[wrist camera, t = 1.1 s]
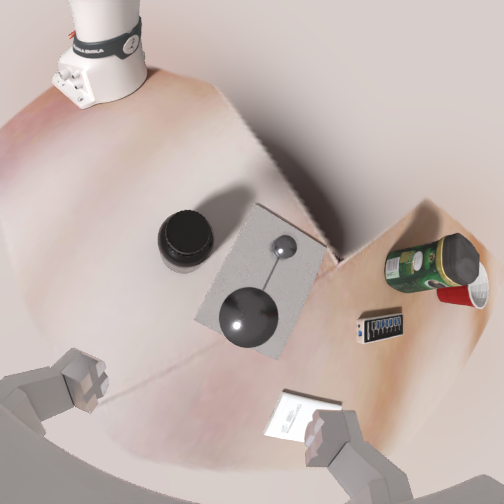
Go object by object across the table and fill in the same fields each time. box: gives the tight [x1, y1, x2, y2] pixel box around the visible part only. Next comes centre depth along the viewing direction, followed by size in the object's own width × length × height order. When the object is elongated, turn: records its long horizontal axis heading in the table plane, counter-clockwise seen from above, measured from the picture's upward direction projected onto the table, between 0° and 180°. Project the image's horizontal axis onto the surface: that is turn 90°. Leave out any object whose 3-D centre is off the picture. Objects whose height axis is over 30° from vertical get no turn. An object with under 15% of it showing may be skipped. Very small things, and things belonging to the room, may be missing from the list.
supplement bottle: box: [158, 210, 214, 273], centre depth 33 cm, size 7×7×12 cm
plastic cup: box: [437, 262, 489, 309], centre depth 48 cm, size 11×11×12 cm
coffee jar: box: [385, 233, 479, 293], centre depth 41 cm, size 10×8×19 cm
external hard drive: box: [263, 391, 342, 442], centre depth 39 cm, size 2×8×12 cm
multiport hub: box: [356, 313, 404, 344], centre depth 46 cm, size 4×11×2 cm, turn 91°
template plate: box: [194, 204, 327, 360], centre depth 41 cm, size 14×20×2 cm
